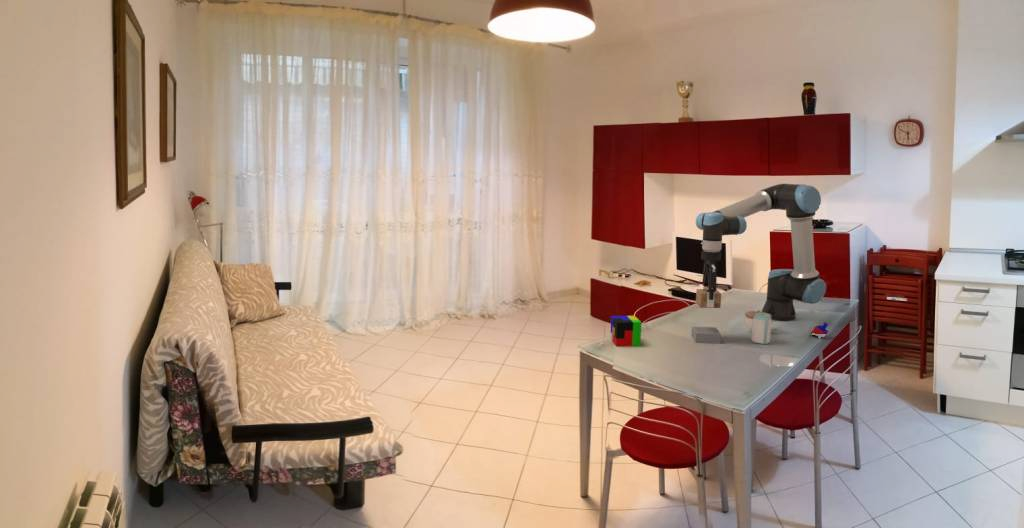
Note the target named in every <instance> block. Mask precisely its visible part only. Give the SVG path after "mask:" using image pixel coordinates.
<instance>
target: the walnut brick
mask: <svg viewBox="0 0 1024 528" xmlns="http://www.w3.org/2000/svg"><path fill="white" fill-rule="evenodd" d="M707 290H708V289H703V288H697V289H696V291H695V293H696V294H695V304H696V305H697V306H698V307H699V308H700V309H701V308H702V309H721V307H722V306H721V304H722V302H721V301H722V293H721V292H720V291H719V290H717V289H716V291H715V297H714V307H707V293H708V292H707Z"/></svg>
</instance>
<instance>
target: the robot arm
mask: <svg viewBox="0 0 1024 528" xmlns="http://www.w3.org/2000/svg"><path fill="white" fill-rule="evenodd" d="M821 202H822V197H821V194H820V192H819V190H818V189H817V188H816V187H815V186H812V185H807V184H798V183H797V184H796V183H795V184H794V183H793V184H792V183H779V184H775V185H771V186H768V187H766V188H763V189H761V190H759V191H757V192H755V194H754V195H752V196H749V197H747V198H745V199H742V200H740V201H737V202H735V203H732V204H729V205H726V206H724V207H722V208H720V209H719V208H718V209H717V210H715V211H710V212H700V213H699V214H697V216H696V217H695V218H696V219H695V226H696V227H697V229H698V230H701V231H702V241H701V242H700V245H702V246H701V248H702V251H701V256H700V257H701V260H703V271H702V282H701V283H702V287H703V288H702V289H708V290H707V292H708V293H707V307H714V297H715V291H716V290H717V277H718V276H717V274H718V267H717V265H716V262H719V261H721V258H722V252H721V251H722V247H723V246H722V245H723V236H737V235H741V234H744V233H745V232H746V230H747V221H746V219H745V218H747V217H749V216H751V215H754V214H757V213H759V212H768V211H771V210H782V211H785V217H786V218H787V219H788V220H790V232H791V235H790V236H791V245H792V258H793V262H792V263H793V269H791V268H778V269H777V268H776V269H772V270H771V269H770V271H768V276H767V287H766V288H767V289H766V300H765V303H764V304H763V306H762V309H761V312H764V313H768V314H770V315H771V319H772V321H782V322H790V321H791V320H792V321H795V320H796V319H797V318H796V317H797V316H796V315H797V313H796V308H795V305H794V301H798V302H802V303H804V304H810V305H814V304H817V303H819V302H820V301H821V300H822V299H823V298H824V296H825V294H826V290H827V283H826V282H825V281H824V279H821V278H820V272H819V270H817V269H816V262H815V249H814V248H815V245H814V231H813V218H814V217H815V215H816V212H817V211H818V210H819V209H820V206H821V204H822V203H821ZM794 319H795V320H794Z"/></svg>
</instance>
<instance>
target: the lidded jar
mask: <svg viewBox="0 0 1024 528" xmlns="http://www.w3.org/2000/svg"><path fill="white" fill-rule="evenodd" d="M755 313H764V312H762V311H761V310H756V311H755V310H753V311H752V310H751V311H746V312H745V315H744V317H745V318H744V321H745V326H746V328H747V329H748V330H749V332H751V333H752V327H753V317H754V316H755ZM767 314H768V313H767ZM770 317H771V315H770Z"/></svg>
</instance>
